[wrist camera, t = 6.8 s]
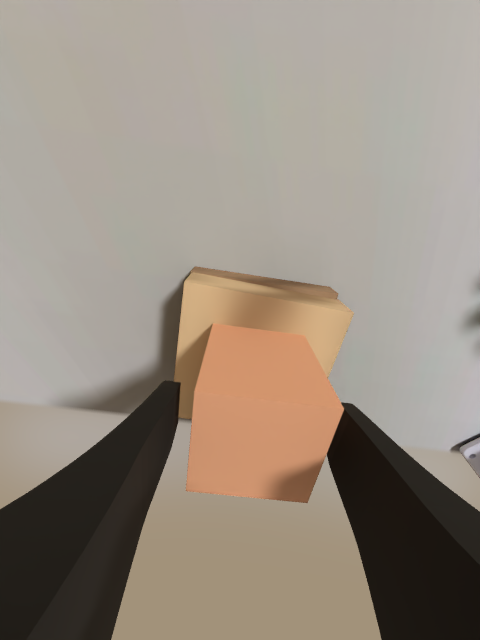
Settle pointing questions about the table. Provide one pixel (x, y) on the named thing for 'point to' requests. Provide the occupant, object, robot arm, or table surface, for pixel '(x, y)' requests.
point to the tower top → (251, 322)
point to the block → (260, 416)
